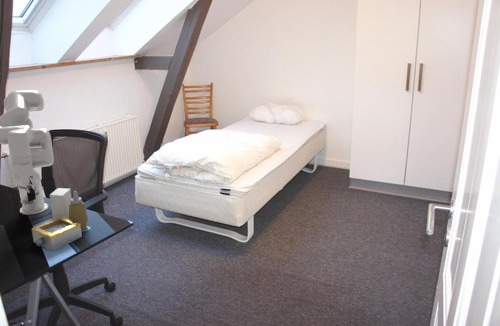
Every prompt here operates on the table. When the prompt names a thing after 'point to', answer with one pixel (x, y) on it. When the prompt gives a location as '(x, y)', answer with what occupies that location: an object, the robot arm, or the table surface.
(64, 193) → the skincare box
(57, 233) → the box
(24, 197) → the spout can
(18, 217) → the table surface
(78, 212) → the squeeze bottle
